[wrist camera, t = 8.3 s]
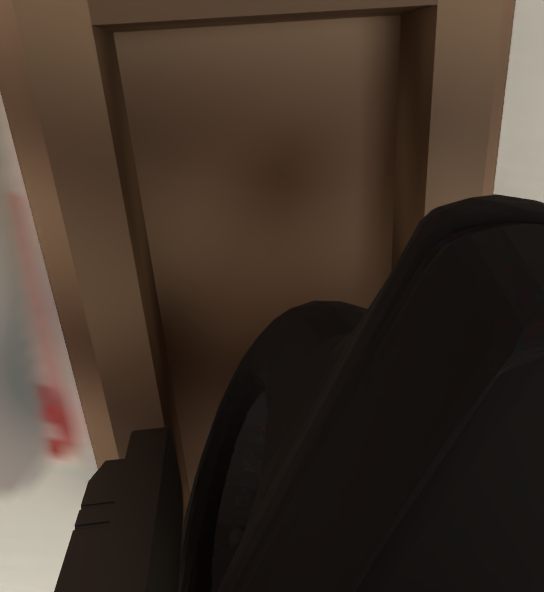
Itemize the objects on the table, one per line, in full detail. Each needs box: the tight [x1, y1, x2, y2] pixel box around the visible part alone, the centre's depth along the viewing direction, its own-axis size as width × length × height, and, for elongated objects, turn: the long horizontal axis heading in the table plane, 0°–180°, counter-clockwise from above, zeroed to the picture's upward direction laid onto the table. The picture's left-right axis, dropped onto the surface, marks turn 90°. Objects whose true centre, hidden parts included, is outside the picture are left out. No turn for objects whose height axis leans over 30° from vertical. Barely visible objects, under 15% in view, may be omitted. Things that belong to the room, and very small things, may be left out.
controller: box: [178, 194, 544, 592], centre depth 8 cm, size 4×12×10 cm, turn 159°
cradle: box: [0, 0, 516, 521], centre depth 14 cm, size 22×11×3 cm, turn 3°
